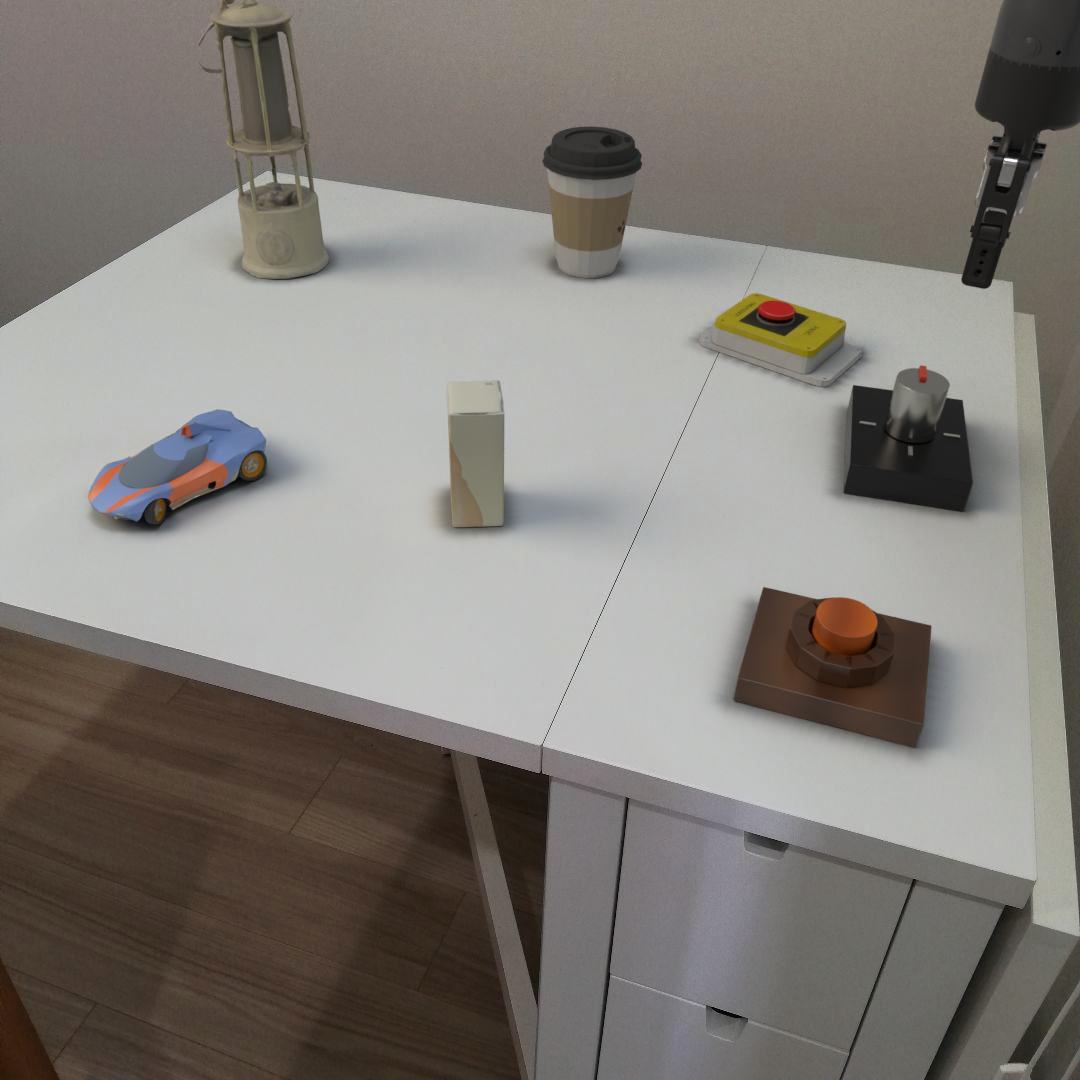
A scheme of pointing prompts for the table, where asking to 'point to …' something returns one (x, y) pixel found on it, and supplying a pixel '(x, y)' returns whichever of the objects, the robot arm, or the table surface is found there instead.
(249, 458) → the toy car
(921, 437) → the hob knob
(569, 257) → the coffee cup
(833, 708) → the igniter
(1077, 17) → the robot arm
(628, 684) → the table surface
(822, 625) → the button
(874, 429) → the panel
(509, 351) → the table surface
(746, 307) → the emergency button
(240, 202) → the lamp
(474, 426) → the box
